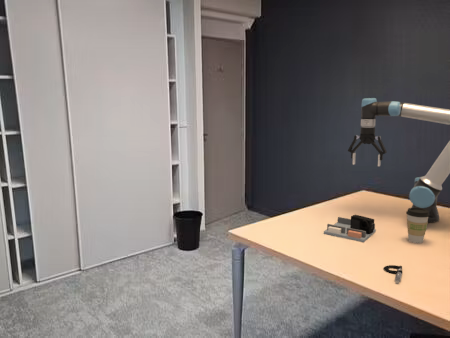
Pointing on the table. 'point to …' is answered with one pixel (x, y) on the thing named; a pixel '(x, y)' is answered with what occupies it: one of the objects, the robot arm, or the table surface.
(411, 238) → the coffee cup
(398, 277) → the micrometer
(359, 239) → the docking board
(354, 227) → the digital camera
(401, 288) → the table surface
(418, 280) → the table surface
